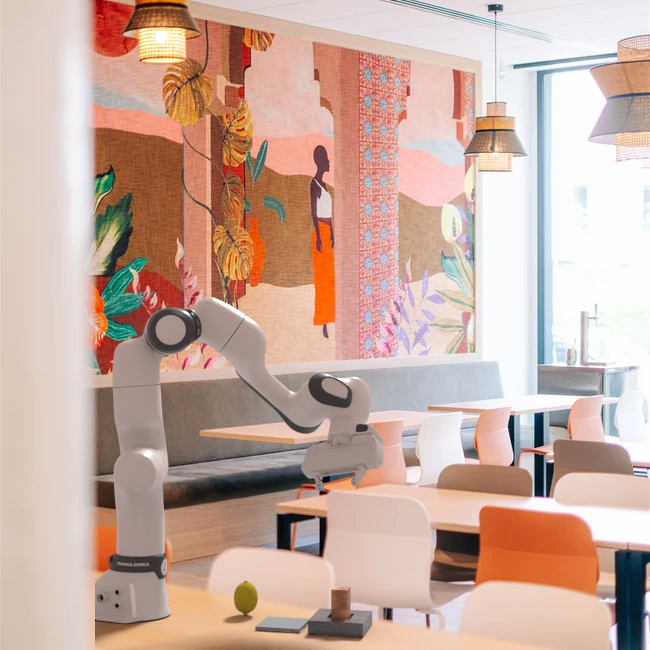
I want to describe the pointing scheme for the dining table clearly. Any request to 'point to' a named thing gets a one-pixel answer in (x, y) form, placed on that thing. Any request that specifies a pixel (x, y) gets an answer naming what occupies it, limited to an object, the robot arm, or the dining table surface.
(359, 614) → the collar block
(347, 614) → the peg
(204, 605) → the dining table surface
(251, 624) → the dining table surface
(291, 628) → the mat
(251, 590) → the lemon
